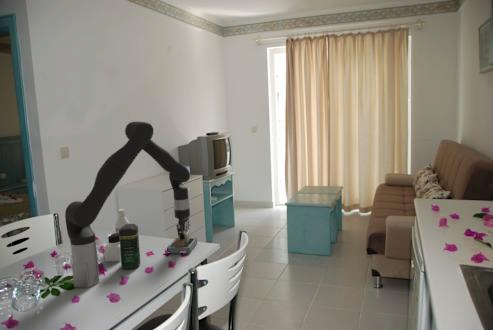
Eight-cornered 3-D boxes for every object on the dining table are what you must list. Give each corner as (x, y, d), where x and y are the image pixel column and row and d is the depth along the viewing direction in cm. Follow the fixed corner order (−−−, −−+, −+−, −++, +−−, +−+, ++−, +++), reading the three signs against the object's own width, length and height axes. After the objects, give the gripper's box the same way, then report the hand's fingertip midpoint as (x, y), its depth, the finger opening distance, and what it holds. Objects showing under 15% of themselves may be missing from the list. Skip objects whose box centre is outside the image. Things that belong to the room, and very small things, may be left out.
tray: (189, 254, 188) (189, 248, 188) (166, 254, 190) (166, 248, 189) (197, 243, 203) (196, 237, 203) (176, 243, 204) (175, 237, 204)
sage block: (187, 243, 197) (186, 234, 196) (178, 243, 197) (178, 234, 197) (189, 240, 201) (189, 231, 200) (181, 240, 202) (180, 231, 201)
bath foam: (123, 245, 205) (120, 207, 202) (134, 246, 202) (131, 208, 200) (114, 250, 198) (111, 211, 195) (126, 251, 196) (122, 211, 193)
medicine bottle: (126, 256, 189) (124, 231, 188) (120, 261, 182) (118, 236, 181) (112, 256, 190) (109, 231, 188) (105, 261, 183) (103, 236, 181)
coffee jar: (138, 269, 173) (135, 227, 170) (120, 270, 172) (116, 229, 169) (142, 261, 182) (139, 221, 180) (124, 262, 181) (121, 222, 179)
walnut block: (183, 251, 191) (183, 242, 190) (174, 251, 191) (174, 242, 191) (186, 248, 195) (185, 239, 195) (177, 248, 196) (177, 239, 195)
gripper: (185, 211, 189) (187, 245, 192) (192, 203, 203) (195, 236, 206) (170, 211, 190) (172, 245, 193) (178, 204, 204) (181, 236, 207)
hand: (184, 240), depth 199 cm, fingers closed on sage block, 4 cm apart
